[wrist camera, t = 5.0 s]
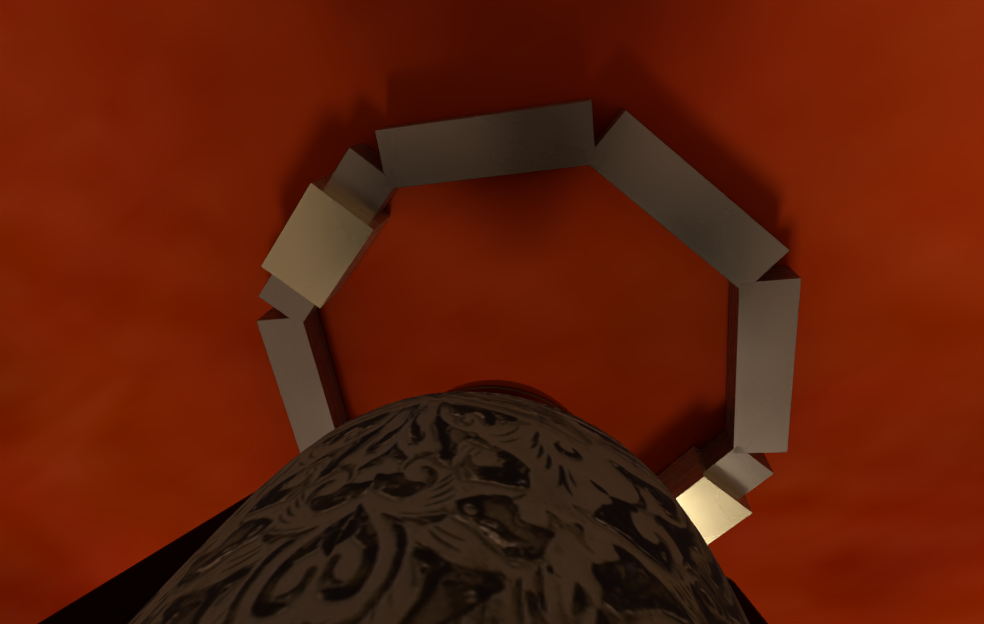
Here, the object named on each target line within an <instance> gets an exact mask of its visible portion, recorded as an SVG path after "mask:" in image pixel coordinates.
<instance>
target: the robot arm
mask: <svg viewBox="0 0 984 624" xmlns="http://www.w3.org/2000/svg"><path fill="white" fill-rule="evenodd" d="M255 492H256V491H255ZM255 492H254V493H255ZM254 493H252V494H250V495H249V496H247V497H245V498H244V499H242V500H240V501H239V502H237V503H236V504H234V505H232V506H231V507H229V508H227V509H226V510H224V511H222V512H221V513H219V514H217V515H216V516H214V517H212V518H211V519H209V520H208V521H206V522H204V523H203V524H201V525H199V526H198V527H196V528H194V529H193V530H191V531H189V532H188V533H186V534H184V535H183V536H181V537H180V538H178V539H176V540H175V541H173V542H171V543H170V544H168V545H166V546H165V547H163V548H161V549H160V550H158V551H156V552H155V553H153V554H152V555H150V556H148V557H147V558H145V559H143V560H142V561H140V562H138V563H137V564H135V565H133V566H132V567H130V568H128V569H127V570H125V571H124V572H122V573H120V574H119V575H117V576H115V577H114V578H112V579H110V580H109V581H107V582H105V583H104V584H102V585H101V586H99V587H97V588H96V589H94V590H92V591H91V592H89V593H87V594H86V595H84V596H82V597H81V598H79V599H77V600H76V601H74V602H73V603H71V604H69V605H68V606H66V607H64V608H63V609H61V610H59V611H58V612H56V613H54V614H53V615H51V616H49V617H48V618H46V619H45V620H43V621H41V622H40V623H38V624H127V623H128V622H129V621H130V620H131V619H132V618H133V617H134V616H135V615H136V614H137V613H138V612H139V611H140V610H141V609H142V607H143V606H144V605H145V604H146V603H147V602H148V601H149V600H150V599H151V598H152V597H153V596H154V595H155V594H156V593H157V592H158V591H159V590H160V589H161V588H162V587H163V586H164V584H165V583H166V582H167V581H168V580H169V579H170V578H171V577H172V576H173V575H174V574H175V573H176V572H177V571H178V570H179V569H180V568H181V567H182V566H183V565H184V564H185V563H186V562H187V561H188V559H189V558H190V557H191V556H192V555H193V554H194V553H195V552H196V551H197V550H198V549H199V548H200V547H201V546H202V545H203V544H204V543H205V542H206V541H207V540H208V539H209V538H210V537H211V536H212V535H213V534H214V533H215V532H216V531H217V530H218V529H219V527H220V526H221V525H222V524H223V523H224V522H225V521H226V520H227V519H228V518H229V517H230V516H231V515H232V514H233V513H234V512H235V511H237V510H238V509H239V508H240V507H241V506H242V505H243V504H244V503H245V502H246V501H247V500H248V499H249V498H250V497H251V496H252V495H253V494H254ZM726 579H727V581H728V582H729V584H730V586H731V588H732V590H733V592H734V594H735V596H736V598H737V600H738V602H739V604H740V605H741V607H742V609H743V611H744V613H745V615H746V617H747V619H748V621H749V623H750V624H768V623H767V622H766V621H765V619H764V618H763V617H762V616H761V614H760V613H759V612H758V611H757V610H756V608H755V607H754V606H753V605H752V603H751V602H750V601H749V600H748V598H747V597H746V596H745V595H744V593H743V592H742V591H741V590H740V588H739V587H738V586H737V585H736V584H735V582H734V581H732V580H731V579H730V578H728V577H726Z"/></svg>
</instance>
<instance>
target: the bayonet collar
mask: <svg viewBox="0 0 984 624" xmlns="http://www.w3.org/2000/svg"><path fill="white" fill-rule="evenodd" d="M375 133H376V138H377V143H378V148H379V152H380V156H379V155H378V154H376V153H375V152H374V151H373V150H371V149H370V148H369V147H367V146H366V145H365V144H363V143H360V144H357V145H355V146H352V147H349V149H348V150H347V152H346V154H345V155H344V157H343V159H342V160H341V162H340V164H339V165H338V167H337V169H336V170H335V172H334V173H332V174H329V175H327V176H325V177H323V178H321V179H318V180H316V181H314V182H312V183H310V185H309V187H308V188H307V190H306V192H305V193H304V195H303V197H302V199H301V200H300V202H299V204H298V205H297V207H296V209H295V210H294V212H293V214H292V215H291V217H290V219H289V220H288V222H287V224H286V226H285V227H284V229H283V231H282V232H281V234H280V236H279V237H278V239H277V241H276V242H275V244H274V246H273V247H272V249H271V251H270V252H269V254H268V256H267V258H266V259H265V261H264V263H263V264H262V266H261V267H263V268H264V269H265V270H267V271H268V272H270V273H271V274H272V275H271V277H270V279H269V280H268V282H267V284H266V285H265V287H264V289H263V290H262V292H261V293H260V295H259V297H260V298H262V299H263V300H265V301H266V302H267V303H269V304H270V305H272V306H273V307H275V308H272V309H271V310H269V311H268V312H267V313H266V314H265V315H263V316H262V317H261V318H260V319H258V320H257V323H258V326H259V329H260V332H261V335H262V338H263V341H264V344H265V348H266V351H267V354H268V357H269V360H270V363H271V366H272V369H273V372H274V375H275V378H276V381H277V384H278V387H279V390H280V393H281V396H282V399H283V402H284V405H285V408H286V411H287V414H288V417H289V420H290V423H291V426H292V429H293V432H294V435H295V438H296V441H297V444H298V447H299V450H300V453H301V452H303V451H304V450H305V449H307V448H308V447H309V446H311V445H312V444H314V443H315V442H316V441H318V440H319V439H320V438H322V437H323V436H325V435H326V434H328V433H329V432H331V431H333V430H334V429H336V428H338V427H339V426H341V425H342V424H344V423H346V422H348V418H347V414H346V411H345V407H344V404H343V400H342V397H341V393H340V389H339V386H338V382H337V379H336V375H335V372H334V368H333V365H332V361H331V358H330V354H329V350H328V347H327V343H326V340H325V336H324V333H323V329H322V326H321V322H320V319H319V315H318V311H317V308H318V307H319V308H321V307H322V306H323V305H324V304H325V303H326V302H327V301H329V300H330V299H331V298H332V297H333V296H334V295H335V294H336V293H337V292H338V291H339V290H340V289H341V287H342V286H343V284H344V283H345V281H346V280H347V278H348V277H349V276H350V274H351V273H352V271H353V270H354V268H355V267H356V265H357V264H358V262H359V261H360V260H361V258H362V257H363V255H364V254H365V252H366V251H367V249H368V248H369V246H370V245H371V243H372V242H373V241H374V239H375V238H376V236H377V235H378V233H379V232H380V230H381V229H382V227H383V226H384V224H385V223H386V222H387V220H388V219H389V217H390V215H388V214H387V213H386V212H384V211H383V210H384V209H385V207H386V206H387V204H388V203H389V201H390V200H391V199H392V197H393V196H394V194H395V193H396V191H397V190H398V188H399V187H407V186H416V185H424V184H432V183H441V182H449V181H458V180H466V179H475V178H483V177H491V176H500V175H508V174H517V173H525V172H534V171H542V170H550V169H559V168H567V167H576V166H584V165H590V166H591V167H592V168H594V169H595V170H596V171H597V172H598V173H600V174H601V175H602V176H603V177H605V178H606V179H607V180H608V181H609V182H611V183H612V184H613V185H614V186H615V187H617V188H618V189H619V190H620V191H621V192H623V193H624V194H625V195H626V196H628V197H629V198H630V199H631V200H632V201H634V202H635V203H636V204H637V205H638V206H640V207H641V208H642V209H643V210H644V211H646V212H647V213H648V214H649V215H651V216H652V217H653V218H654V219H655V220H657V221H658V222H659V223H660V224H661V225H663V226H664V227H665V228H666V229H667V230H669V231H670V232H671V233H672V234H674V235H675V236H676V237H677V238H678V239H680V240H681V241H682V242H683V243H684V244H686V245H687V246H688V247H689V248H691V249H692V250H693V251H694V252H695V253H697V254H698V255H699V256H700V257H701V258H703V259H704V260H705V261H706V262H707V263H709V264H710V265H711V266H712V267H714V268H715V269H716V270H717V271H718V272H720V273H721V274H722V275H723V276H724V277H726V278H727V279H728V280H729V281H730V282H729V318H728V354H727V390H726V426H725V430H724V431H723V432H721V433H720V434H719V435H718V436H716V437H715V438H714V439H713V440H712V441H710V442H709V443H708V444H707V445H705V446H704V447H703V448H702V449H700V450H699V449H698V448H696V447H695V446H693V447H692V448H691V449H689V450H688V451H687V452H686V453H684V454H683V455H682V456H681V457H680V458H678V459H677V460H676V461H675V462H673V463H672V464H671V465H670V466H669V467H667V468H666V469H665V470H664V471H662V472H661V473H660V474H659V475H657V477H658V478H659V479H660V480H661V481H662V482H663V483H664V485H665V486H666V487H667V488H668V489H669V490H670V492H671V493H672V494H673V496H674V497H675V498H676V500H677V501H678V503H679V504H680V505H681V507H682V508H683V510H684V511H685V512H686V514H687V515H688V516H689V518H690V519H691V521H692V522H693V523H694V525H695V526H696V528H697V529H698V530H699V532H700V533H701V535H702V537H703V538H704V540H705V542H706V543H707V545H708V544H709V543H711V542H712V541H713V540H715V539H716V538H718V537H719V536H720V535H722V534H723V533H725V532H726V531H727V530H729V529H730V528H732V527H733V526H734V525H736V524H737V523H739V522H740V521H742V520H743V519H744V518H746V517H747V516H749V515H750V514H751V513H752V511H751V509H750V506H749V504H748V501H747V499H746V496H745V494H746V493H748V492H749V491H750V490H752V489H753V488H755V487H756V486H757V485H759V484H760V483H761V482H763V481H764V480H766V479H767V478H768V477H770V476H771V475H772V474H774V473H773V471H772V469H771V467H770V465H769V463H768V461H767V459H766V457H765V455H764V453H768V452H787V446H788V433H789V421H790V408H791V396H792V384H793V371H794V359H795V346H796V334H797V321H798V309H799V296H800V284H801V278H800V277H799V276H798V275H797V274H796V273H795V272H794V271H793V270H792V269H791V268H790V267H788V266H777V267H772V266H773V265H774V264H775V263H776V262H777V261H778V260H780V259H781V258H782V257H783V256H784V255H785V254H786V253H787V252H788V251H789V250H788V249H787V248H786V247H785V246H784V245H783V244H781V243H780V242H779V241H778V240H777V239H776V238H774V237H773V236H772V235H771V234H770V233H769V232H767V231H766V230H765V229H764V228H763V227H762V226H760V225H759V224H758V223H757V222H756V221H755V220H753V219H752V218H751V217H750V216H749V215H748V214H746V213H745V212H744V211H743V210H742V209H741V208H739V207H738V206H737V205H736V204H735V203H734V202H732V201H731V200H730V199H729V198H728V197H727V196H725V195H724V194H723V193H722V192H721V191H720V190H718V189H717V188H716V187H715V186H714V185H712V184H711V183H710V182H709V181H708V180H707V179H705V178H704V177H703V176H702V175H701V174H700V173H698V172H697V171H696V170H695V169H694V168H693V167H691V166H690V165H689V164H688V163H687V162H686V161H684V160H683V159H682V158H681V157H680V156H679V155H677V154H676V153H675V152H674V151H673V150H672V149H670V148H669V147H668V146H667V145H666V144H665V143H663V142H662V141H661V140H660V139H659V138H658V137H656V136H655V135H654V134H653V133H652V132H651V131H649V130H648V129H647V128H646V127H645V126H643V125H642V124H641V123H640V122H639V121H638V120H636V119H635V118H634V117H633V116H632V115H631V114H629V113H628V112H627V111H626V110H625V109H624V108H622V109H621V110H620V111H619V112H618V114H617V115H616V116H615V117H614V118H613V120H612V121H611V122H610V123H609V125H608V126H607V127H606V128H605V129H604V131H603V132H602V133H601V134H600V136H599V137H598V138H597V139H596V140H595V142H594V129H593V114H592V100H591V98H589V99H582V100H575V101H568V102H561V103H554V104H546V105H539V106H532V107H525V108H518V109H511V110H503V111H496V112H489V113H482V114H475V115H467V116H460V117H453V118H446V119H439V120H432V121H424V122H417V123H410V124H403V125H396V126H389V127H384V128H381V129H378V130H375Z"/></svg>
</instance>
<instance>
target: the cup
mask: <svg viewBox="0 0 984 624" xmlns="http://www.w3.org/2000/svg"><path fill="white" fill-rule="evenodd" d="M127 624H750V623H749V621H748V619H747V617H746V615H745V613H744V611H743V609H742V607H741V605H740V604H739V602H738V600H737V598H736V596H735V594H734V592H733V590H732V588H731V586H730V584H729V582H728V581H727V579H726V577H725V575H724V573H723V571H722V569H721V568H720V566H719V564H718V562H717V561H716V559H715V557H714V555H713V554H712V552H711V550H710V549H709V547H708V545H707V543H706V542H705V540H704V538H703V537H702V535H701V533H700V532H699V530H698V529H697V528H696V526H695V525H694V523H693V522H692V521H691V519H690V518H689V516H688V515H687V514H686V512H685V511H684V510H683V508H682V507H681V505H680V504H679V503H678V501H677V500H676V498H675V497H674V496H673V494H672V493H671V492H670V490H669V489H668V488H667V487H666V486H665V485H664V483H663V482H662V481H661V480H660V479H659V478H658V477H657V476H656V475H655V474H654V473H653V472H652V471H651V470H650V469H649V468H648V467H647V466H646V465H645V464H644V463H643V462H642V461H640V460H639V459H638V458H637V457H636V456H635V455H634V454H633V453H631V452H630V451H629V450H628V449H627V448H625V447H624V446H623V445H622V444H621V443H620V442H618V441H617V440H615V439H614V438H612V437H611V436H609V435H608V434H606V433H605V432H603V431H602V430H600V429H599V428H597V427H595V426H593V425H591V424H589V423H588V422H586V421H584V420H582V419H580V418H578V417H576V416H574V415H572V413H571V412H570V411H569V410H568V409H567V408H565V407H564V406H563V405H562V404H561V403H559V402H558V401H557V400H555V399H554V398H552V397H551V396H549V395H547V394H546V393H544V392H542V391H540V390H538V389H535V388H533V387H530V386H527V385H524V384H521V383H516V382H511V381H503V380H483V381H475V382H470V383H466V384H463V385H460V386H457V387H454V388H452V389H450V390H448V391H445V392H444V393H435V394H427V395H422V396H417V397H412V398H407V399H403V400H400V401H397V402H394V403H391V404H387V405H384V406H382V407H380V408H377V409H375V410H373V411H370V412H368V413H366V414H364V415H361V416H359V417H357V418H355V419H352V420H350V421H348V422H346V423H344V424H342V425H341V426H339V427H338V428H336V429H334V430H333V431H331V432H329V433H328V434H326V435H325V436H323V437H322V438H320V439H319V440H318V441H316V442H315V443H314V444H312V445H311V446H309V447H308V448H307V449H305V450H304V451H303V452H301V453H300V454H299V455H298V456H296V457H295V458H294V459H293V460H291V461H290V462H289V463H288V464H286V465H285V466H284V467H283V468H282V469H281V470H279V471H278V472H277V473H276V474H275V475H274V476H273V477H272V478H270V479H269V480H268V481H267V482H266V483H265V484H264V485H262V486H261V487H260V488H259V489H258V490H257V491H256V492H255V493H254V494H253V495H252V496H251V497H250V498H249V499H248V500H247V501H246V502H245V503H244V504H243V505H242V506H241V507H240V508H239V509H238V510H237V511H235V512H234V513H233V514H232V515H231V516H230V517H229V518H228V519H227V520H226V521H225V522H224V523H223V524H222V525H221V526H220V527H219V529H218V530H217V531H216V532H215V533H214V534H213V535H212V536H211V537H210V538H209V539H208V540H207V541H206V542H205V543H204V544H203V545H202V546H201V547H200V548H199V549H198V550H197V551H196V552H195V553H194V554H193V555H192V556H191V557H190V558H189V559H188V561H187V562H186V563H185V564H184V565H183V566H182V567H181V568H180V569H179V570H178V571H177V572H176V573H175V574H174V575H173V576H172V577H171V578H170V579H169V580H168V581H167V582H166V583H165V584H164V586H163V587H162V588H161V589H160V590H159V591H158V592H157V593H156V594H155V595H154V596H153V597H152V598H151V599H150V600H149V601H148V602H147V603H146V604H145V605H144V606H143V607H142V609H141V610H140V611H139V612H138V613H137V614H136V615H135V616H134V617H133V618H132V619H131V620H130V621H129V622H128V623H127Z"/></svg>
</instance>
